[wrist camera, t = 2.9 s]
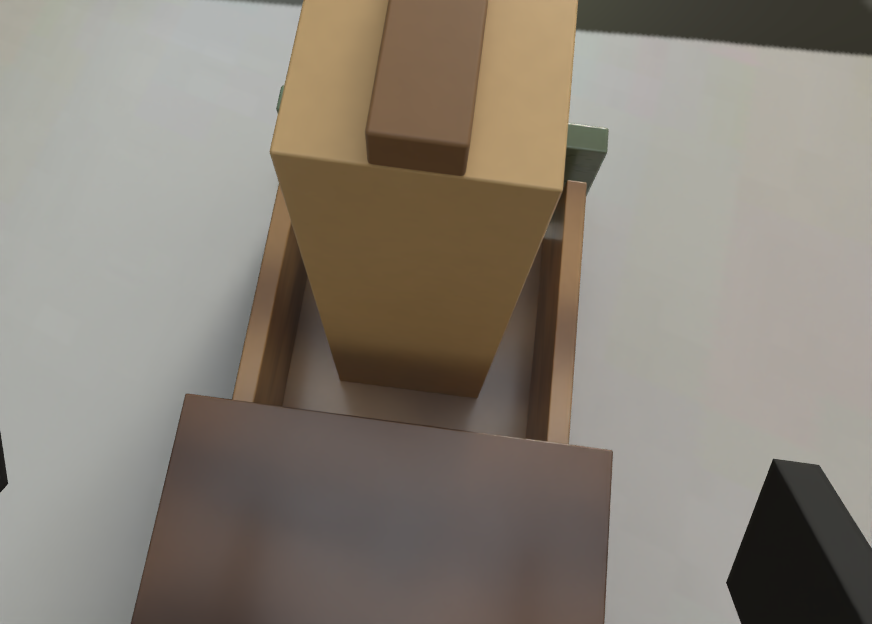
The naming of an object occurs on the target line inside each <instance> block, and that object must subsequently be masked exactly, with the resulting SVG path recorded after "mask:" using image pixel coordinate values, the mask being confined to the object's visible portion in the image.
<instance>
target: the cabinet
mask: <svg viewBox="0 0 872 624" xmlns="http://www.w3.org/2000/svg"><path fill="white" fill-rule="evenodd" d="M612 459H613V451H612V450H607V449H599V448H592V447H584V446H577V445H569V444H562V443H554V442H547V441H539V440H531V439H524V438H516V437H509V436H501V435H494V434H486V433H479V432H471V431H464V430H456V429H449V428H441V427H434V426H426V425H419V424H411V423H404V422H396V421H389V420H381V419H374V418H366V417H359V416H351V415H344V414H336V413H329V412H321V411H314V410H306V409H299V408H291V407H284V406H276V405H269V404H261V403H254V402H246V401H239V400H231V399H224V398H216V397H209V396H201V395H194V394H186V395H185V399H184V403H183V407H182V411H181V415H180V420H179V424H178V428H177V432H176V436H175V440H174V445H173V449H172V453H171V457H170V461H169V466H168V470H167V474H166V478H165V482H164V487H163V491H162V495H161V499H160V503H159V508H158V512H157V516H156V520H155V524H154V529H153V533H152V537H151V541H150V545H149V550H148V554H147V558H146V562H145V566H144V571H143V575H142V579H141V583H140V587H139V591H138V596H137V600H136V604H135V608H134V612H133V617H132V621H131V624H604V618H605V598H606V578H607V558H608V539H609V519H610V499H611V479H612Z"/></svg>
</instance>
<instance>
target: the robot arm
mask: <svg viewBox="0 0 872 624" xmlns="http://www.w3.org/2000/svg"><path fill="white" fill-rule="evenodd" d="M7 484H8V480H7V474H6V467H5V460H4V453H3V446H2V440H1V433H0V492H1V491H2V490H3V489H4V488H5V487H6V486H7ZM726 583H727V586H728V589H729V592H730V594H731V597H732V600H733V602H734V605H735V608H736V611H737V613H738V616H739V619H740V621H741V624H872V548H871V547H870V545H869V544H868V542H867V540H866V539H865V537H864V536H863V534H862V532H861V531H860V529H859V528H858V526H857V524H856V523H855V521H854V520H853V518H852V517H851V515H850V513H849V512H848V510H847V509H846V507H845V505H844V504H843V502H842V501H841V499H840V497H839V496H838V494H837V493H836V491H835V490H834V488H833V486H832V485H831V483H830V482H829V480H828V478H827V477H826V475H825V474H824V472H823V470H822V469H821V467H820V466H819V465H815V464H807V463H800V462H793V461H785V460H778V459H773V461H772V463H771V466H770V468H769V471H768V474H767V476H766V479H765V482H764V484H763V487H762V490H761V492H760V495H759V497H758V500H757V503H756V505H755V508H754V511H753V513H752V516H751V519H750V521H749V524H748V527H747V529H746V532H745V534H744V537H743V540H742V542H741V545H740V548H739V550H738V553H737V556H736V558H735V561H734V563H733V566H732V569H731V571H730V574H729V577H728V579H727V582H726Z"/></svg>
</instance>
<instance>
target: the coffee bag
mask: <svg viewBox="0 0 872 624" xmlns="http://www.w3.org/2000/svg"><path fill="white" fill-rule="evenodd" d="M577 7H578V0H304V1H303V5H302V9H301V14H300V18H299V23H298V27H297V32H296V36H295V41H294V45H293V49H292V54H291V58H290V63H289V67H288V72H287V76H286V81H285V85H284V90H283V94H282V98H281V103H280V107H279V112H278V116H277V121H276V125H275V130H274V134H273V139H272V143H271V147H270V155H271V158H272V161H273V165H274V168H275V171H276V174H277V178H278V181H279V184H280V187H281V191H282V194H283V197H284V200H285V204H286V207H287V210H288V213H289V217H290V220H291V223H292V226H293V230H294V233H295V236H296V239H297V243H298V246H299V249H300V252H301V256H302V259H303V262H304V266H305V269H306V272H307V275H308V279H309V282H310V285H311V288H312V292H313V295H314V298H315V301H316V305H317V308H318V311H319V314H320V318H321V321H322V324H323V327H324V331H325V334H326V337H327V340H328V344H329V347H330V350H331V353H332V357H333V360H334V363H335V366H336V370H337V373H338V376H339V379H340V380H341V381H349V382H356V383H364V384H371V385H379V386H386V387H394V388H402V389H409V390H417V391H424V392H432V393H439V394H447V395H455V396H462V397H470V398H478V396H479V393H480V391H481V389H482V386H483V384H484V381H485V379H486V376H487V374H488V371H489V369H490V367H491V364H492V362H493V359H494V357H495V354H496V352H497V350H498V347H499V345H500V342H501V340H502V337H503V335H504V333H505V330H506V328H507V325H508V323H509V320H510V318H511V315H512V313H513V311H514V308H515V306H516V303H517V301H518V298H519V296H520V294H521V291H522V289H523V286H524V284H525V281H526V279H527V276H528V274H529V272H530V269H531V267H532V264H533V262H534V259H535V257H536V255H537V252H538V250H539V247H540V245H541V242H542V240H543V237H544V235H545V233H546V230H547V228H548V225H549V223H550V220H551V218H552V216H553V213H554V211H555V208H556V206H557V203H558V201H559V198H560V196H561V194H562V191H563V183H564V171H565V158H566V145H567V133H568V120H569V108H570V95H571V83H572V70H573V57H574V45H575V32H576V19H577Z"/></svg>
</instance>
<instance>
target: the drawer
mask: <svg viewBox="0 0 872 624" xmlns="http://www.w3.org/2000/svg"><path fill="white" fill-rule="evenodd" d="M283 90H284V85H283V86H282V87H281V90H280V95H279V99H278V103H277V108H276V109H277V113H278V112H279V107H280V103H281V98H282V94H283ZM607 147H608V129H607V128H601V127H594V126H586V125H579V124H571V123H568V133H567V145H566V158H565V171H564V183H563V191H562V194H561V196H560V198H559V201H558V203H557V206H556V208H555V211H554V213H553V216H552V218H551V220H550V223H549V226H548V228H547V231H546V233H545V236H544V238H543V240H542V242H541V245H540V247H539V250H538V252H537V255H536V257H535V259H534V262H533V264H532V267H531V269H530V272H529V274H528V276H527V279H526V281H525V284H524V286H523V289H522V291H521V294H520V296H519V298H518V301H517V303H516V306H515V308H514V311H513V313H512V315H511V318H510V320H509V323H508V325H507V328H506V330H505V333H504V335H503V337H502V340H501V342H500V345H499V347H498V350H497V352H496V354H495V357H494V359H493V362H492V364H491V367H490V369H489V371H488V374H487V376H486V379H485V381H484V384H483V386H482V389H481V391H480V393H479V396H478V398H470V397H462V396H455V395H447V394H439V393H432V392H424V391H417V390H409V389H402V388H394V387H386V386H379V385H371V384H364V383H356V382H349V381H341V380H340V379H339V376H338V373H337V370H336V366H335V363H334V360H333V357H332V353H331V350H330V347H329V344H328V340H327V337H326V334H325V331H324V327H323V324H322V321H321V318H320V314H319V311H318V308H317V305H316V301H315V298H314V295H313V292H312V288H311V285H310V282H309V279H308V275H307V272H306V269H305V266H304V262H303V259H302V256H301V252H300V249H299V246H298V243H297V239H296V236H295V233H294V230H293V226H292V223H291V220H290V217H289V213H288V210H287V207H286V204H285V200H284V197H283V194H282V191H281V187H280V184H279V186H278V190H277V195H276V199H275V204H274V208H273V213H272V218H271V222H270V227H269V231H268V236H267V241H266V245H265V250H264V254H263V259H262V264H261V268H260V273H259V277H258V282H257V287H256V291H255V296H254V300H253V305H252V310H251V314H250V319H249V323H248V328H247V333H246V337H245V342H244V346H243V351H242V356H241V360H240V365H239V369H238V374H237V378H236V383H235V388H234V392H233V397H232V400H239V401H246V402H254V403H261V404H269V405H276V406H284V407H291V408H299V409H306V410H314V411H321V412H329V413H336V414H344V415H351V416H359V417H366V418H374V419H381V420H389V421H396V422H404V423H411V424H419V425H426V426H434V427H441V428H449V429H456V430H464V431H471V432H479V433H486V434H494V435H501V436H509V437H516V438H524V439H531V440H539V441H547V442H554V443H562V444H569V433H570V419H571V404H572V390H573V375H574V361H575V346H576V332H577V318H578V303H579V289H580V274H581V260H582V246H583V231H584V217H585V202H586V196H587V194H588V192H589V189H590V187H591V185H592V183H593V181H594V179H595V177H596V175H597V173H598V171H599V168H600V166H601V164H602V162H603V160H604V158H605V156H606V154H607Z"/></svg>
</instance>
